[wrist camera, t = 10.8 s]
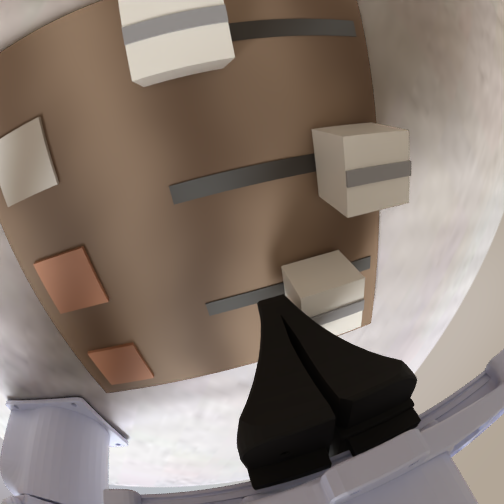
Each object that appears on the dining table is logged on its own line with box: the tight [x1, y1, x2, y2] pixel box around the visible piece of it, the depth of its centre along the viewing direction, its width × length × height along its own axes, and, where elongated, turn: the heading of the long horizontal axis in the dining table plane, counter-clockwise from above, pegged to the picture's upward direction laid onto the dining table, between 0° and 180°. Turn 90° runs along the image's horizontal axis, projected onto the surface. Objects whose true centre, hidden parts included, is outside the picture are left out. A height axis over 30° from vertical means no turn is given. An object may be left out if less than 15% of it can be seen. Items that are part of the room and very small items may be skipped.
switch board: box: [0, 0, 379, 393], centre depth 12 cm, size 18×20×1 cm
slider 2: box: [281, 250, 365, 336], centre depth 14 cm, size 3×3×3 cm
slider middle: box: [312, 123, 411, 218], centre depth 11 cm, size 3×3×3 cm
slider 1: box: [118, 0, 235, 87], centre depth 7 cm, size 3×3×3 cm
